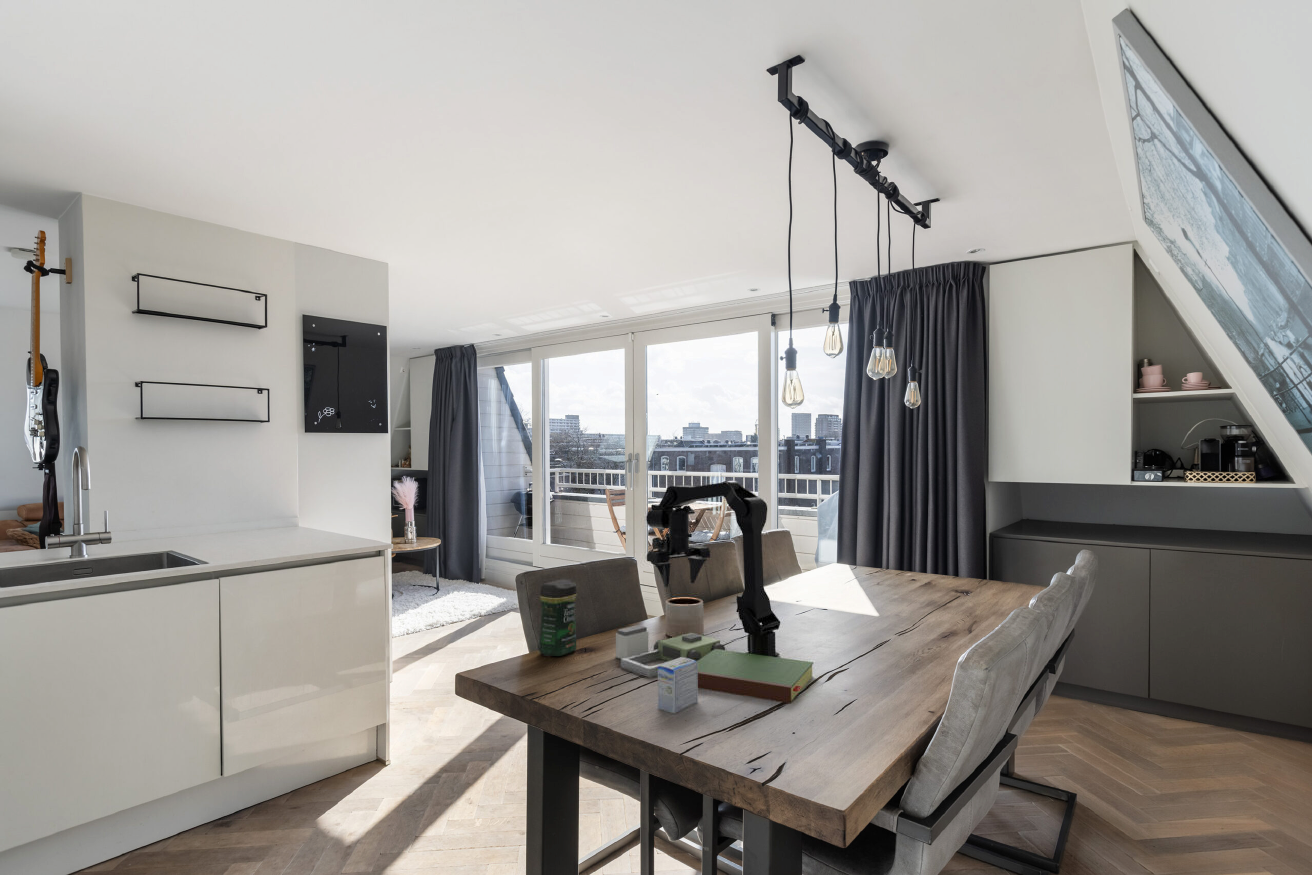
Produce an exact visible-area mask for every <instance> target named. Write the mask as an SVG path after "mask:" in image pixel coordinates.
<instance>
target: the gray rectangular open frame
mask: <svg viewBox="0 0 1312 875" xmlns="http://www.w3.org/2000/svg"><path fill="white" fill-rule="evenodd" d="M660 659H662V658H661V652H660V650H658V649H657V650H654V649H653V650H648V652H645V653H642V654H638V655H634V656H630V657H627V658H623V659H620V668H621V669H624V670H626V671H629V672H632V673H634V674H637V675H640V676H643V677H646V678H648V679H651V678H654V677H658V666H659V665H662V664H664V663H667V662H669V661H668V660H667V661H665V662H662V663H659V664H655V665H652V666H651V665H650V666H649V665H646V663H648V662H653V661H657V660H660Z"/></svg>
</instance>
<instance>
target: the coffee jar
mask: <svg viewBox="0 0 1312 875" xmlns="http://www.w3.org/2000/svg"><path fill="white" fill-rule="evenodd" d="M539 599H540V604H541V620H540V635H539V647H538V648H539V649H538V650H539V653H540V654H542V655H543V656H546V657H549V658H550V657H561V656H565V655H568V654H571V653H572V652H575V651H576V650H577V632H576V630H577V629H576V612H575V608H576V599H577V583H576V582H575V581H574V580H571V579H563V578H562V579H557V580H554V581H550V582H546V583H545V582H544V583H543V584H542V585H541V586H540V592H539Z"/></svg>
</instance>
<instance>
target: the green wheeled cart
mask: <svg viewBox="0 0 1312 875" xmlns="http://www.w3.org/2000/svg"><path fill="white" fill-rule="evenodd" d="M657 649H658V650H660V652H661V658H660V659H663V660H665V661H667V662H668V661H672V660H674V659H677V658H680V657H684V658H688V659H692V660H695V661H698V660H700V659H701V658H703V657H704V656H705V655H707V654H708V653H710V652H711V651H713V650H714V649H719V650H726V646H725V645H724V644H721V640H720V639H717V638H712V637H709V636H705V635H698V634H695V633H689V634H682V635H681V636H678V637H674V638H671V637H670V638H667V639H663V640H657V641H656V642H655V643H654V645H653V650H657Z"/></svg>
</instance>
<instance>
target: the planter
mask: <svg viewBox="0 0 1312 875" xmlns="http://www.w3.org/2000/svg"><path fill="white" fill-rule="evenodd" d="M704 623H705V622H704V601H703V599H701V598H696V597H689V596H683V597H682V596H681V597H680V596H679V597H672V598H669V599H666V600H665V634H666V635H667V636H668V637H669V636H670V638H671V637H673V638H674V637H678V636H681V635H682V634H689V633H695V634H698V635H702V636H704V632H705V625H704Z"/></svg>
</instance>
